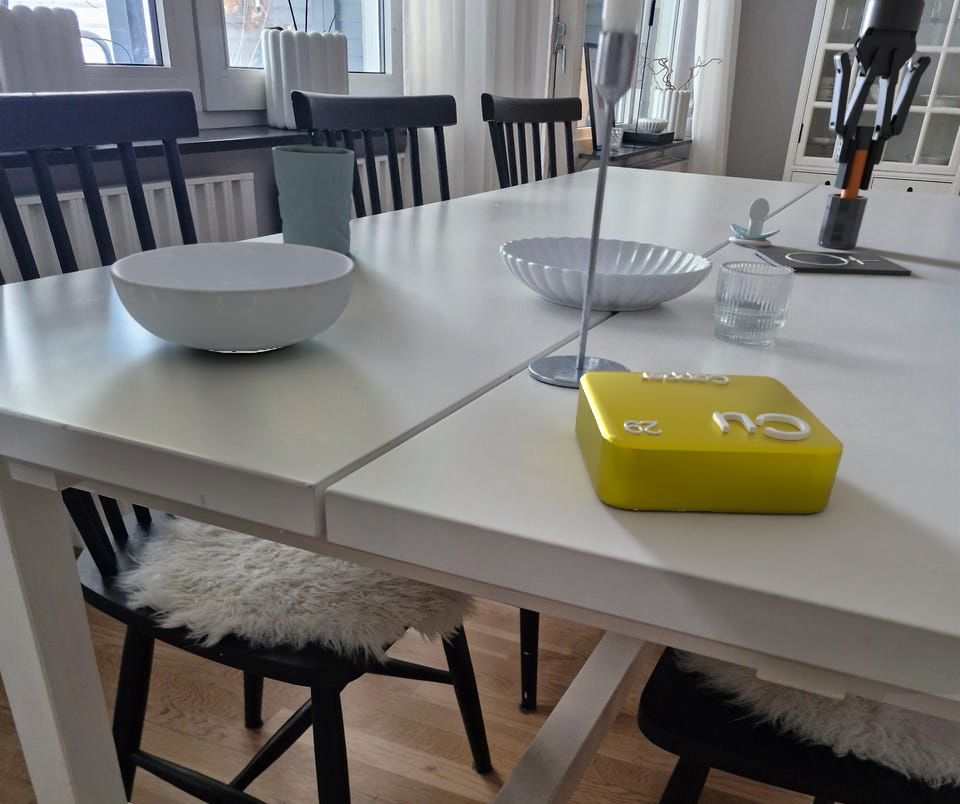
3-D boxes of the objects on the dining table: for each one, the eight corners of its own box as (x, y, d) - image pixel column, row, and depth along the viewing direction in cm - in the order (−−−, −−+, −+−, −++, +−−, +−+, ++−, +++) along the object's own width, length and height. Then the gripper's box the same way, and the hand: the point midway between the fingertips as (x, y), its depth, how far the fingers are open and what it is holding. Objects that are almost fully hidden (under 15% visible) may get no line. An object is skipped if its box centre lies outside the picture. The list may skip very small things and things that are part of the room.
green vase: (263, 251, 117) (254, 147, 111) (317, 241, 124) (311, 143, 118) (320, 263, 113) (315, 155, 106) (373, 252, 120) (370, 150, 113)
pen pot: (846, 243, 141) (858, 194, 138) (861, 249, 137) (874, 199, 133) (812, 241, 141) (823, 192, 137) (825, 248, 136) (837, 198, 132)
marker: (847, 222, 138) (870, 125, 131) (854, 225, 136) (878, 126, 129) (831, 221, 138) (853, 125, 131) (837, 224, 136) (860, 126, 129)
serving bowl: (249, 302, 95) (242, 231, 91) (402, 340, 85) (402, 263, 81) (74, 342, 80) (57, 260, 76) (234, 393, 71) (224, 302, 67)
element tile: (765, 430, 68) (779, 368, 66) (837, 517, 56) (858, 444, 53) (570, 425, 68) (577, 361, 65) (599, 511, 55) (609, 437, 53)
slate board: (873, 257, 132) (874, 252, 131) (910, 275, 122) (912, 270, 121) (754, 253, 130) (755, 248, 130) (781, 271, 120) (782, 265, 120)
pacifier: (769, 251, 134) (779, 244, 138) (778, 205, 130) (788, 199, 134) (721, 244, 136) (732, 237, 141) (729, 199, 133) (740, 194, 137)
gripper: (939, 0, 125) (890, 187, 138) (830, -6, 124) (791, 183, 137) (966, -2, 119) (912, 194, 132) (852, -8, 118) (809, 190, 131)
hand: (850, 188), depth 134 cm, fingers closed on marker, 3 cm apart
